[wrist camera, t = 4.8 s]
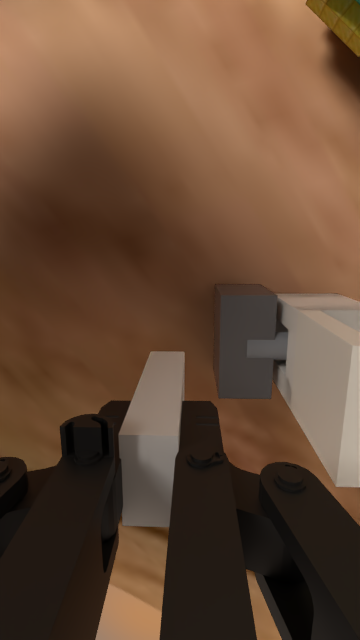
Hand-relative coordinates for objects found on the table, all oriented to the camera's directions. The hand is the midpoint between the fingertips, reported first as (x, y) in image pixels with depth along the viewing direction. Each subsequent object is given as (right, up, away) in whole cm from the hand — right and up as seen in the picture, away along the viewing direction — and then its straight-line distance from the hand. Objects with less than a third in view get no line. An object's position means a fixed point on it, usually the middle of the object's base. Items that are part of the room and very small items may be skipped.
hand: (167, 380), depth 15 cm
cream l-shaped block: (+8, +2, +7) cm, 11 cm away
